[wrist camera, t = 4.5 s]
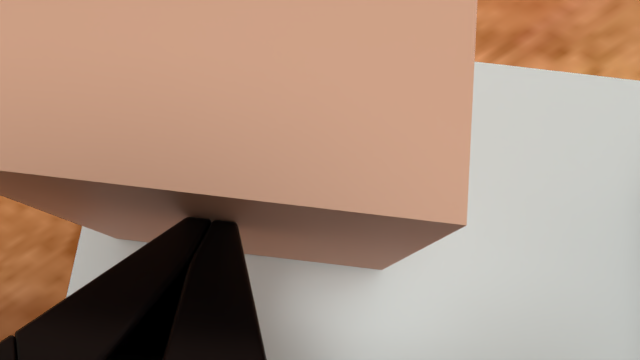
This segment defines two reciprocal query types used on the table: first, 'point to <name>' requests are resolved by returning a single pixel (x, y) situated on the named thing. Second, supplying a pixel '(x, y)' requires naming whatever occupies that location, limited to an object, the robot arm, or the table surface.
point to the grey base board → (482, 244)
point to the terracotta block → (244, 119)
